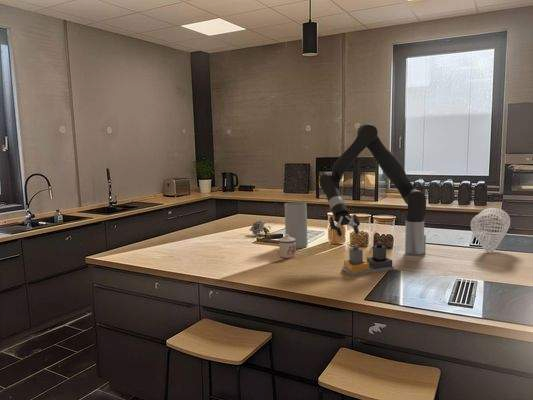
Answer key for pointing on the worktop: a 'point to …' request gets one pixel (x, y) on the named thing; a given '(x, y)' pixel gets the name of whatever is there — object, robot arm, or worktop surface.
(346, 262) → the multicoloured piece
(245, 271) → the worktop surface
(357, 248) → the plug
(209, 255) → the worktop surface
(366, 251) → the worktop surface
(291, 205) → the cylinder vase
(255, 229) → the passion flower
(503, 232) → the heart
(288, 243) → the teacup with lid
